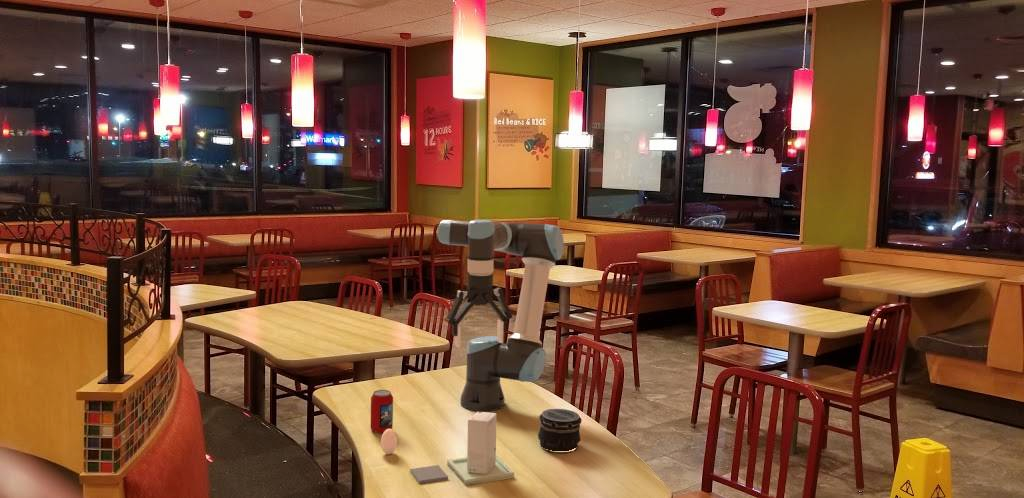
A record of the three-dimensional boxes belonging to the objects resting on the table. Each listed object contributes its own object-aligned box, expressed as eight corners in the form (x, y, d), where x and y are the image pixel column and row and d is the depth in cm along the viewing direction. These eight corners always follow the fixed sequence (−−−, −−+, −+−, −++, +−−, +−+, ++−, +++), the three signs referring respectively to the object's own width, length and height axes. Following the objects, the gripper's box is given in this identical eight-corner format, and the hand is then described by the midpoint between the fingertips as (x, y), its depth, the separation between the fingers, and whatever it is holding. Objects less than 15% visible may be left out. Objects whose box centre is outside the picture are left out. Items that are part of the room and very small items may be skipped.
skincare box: (486, 475, 212) (488, 422, 210) (465, 472, 213) (467, 419, 211) (496, 464, 220) (497, 412, 218) (475, 461, 221) (477, 409, 219)
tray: (493, 458, 226) (493, 453, 226) (514, 477, 213) (514, 472, 213) (447, 465, 220) (447, 459, 220) (465, 485, 207) (465, 479, 207)
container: (584, 442, 241) (586, 410, 239) (573, 457, 229) (575, 424, 227) (544, 436, 245) (545, 404, 243) (531, 450, 233) (533, 418, 231)
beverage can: (388, 435, 241) (388, 396, 239) (367, 432, 242) (367, 394, 240) (395, 427, 247) (396, 390, 246) (375, 425, 249) (375, 388, 247)
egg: (389, 458, 223) (390, 433, 222) (377, 454, 226) (377, 429, 225) (400, 453, 227) (400, 428, 226) (388, 449, 229) (388, 424, 229)
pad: (438, 467, 218) (438, 465, 218) (448, 479, 211) (448, 476, 211) (410, 471, 215) (410, 469, 214) (419, 483, 207) (419, 480, 207)
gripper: (513, 268, 239) (511, 337, 242) (435, 273, 228) (434, 344, 231) (524, 273, 232) (522, 343, 235) (444, 278, 221) (443, 351, 225)
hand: (479, 344), depth 233 cm, fingers open, 13 cm apart
